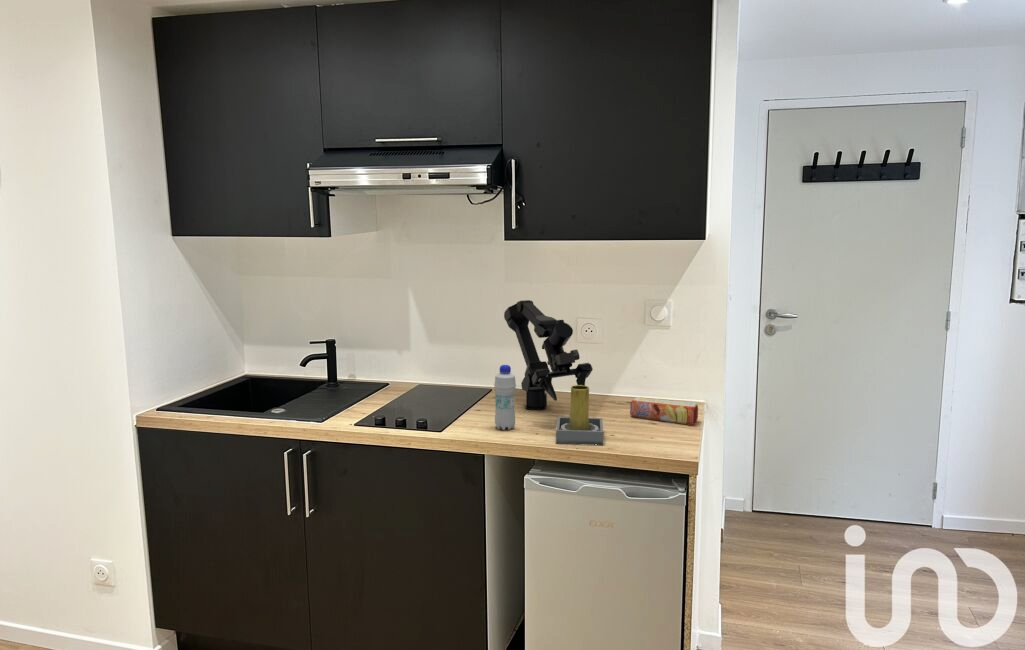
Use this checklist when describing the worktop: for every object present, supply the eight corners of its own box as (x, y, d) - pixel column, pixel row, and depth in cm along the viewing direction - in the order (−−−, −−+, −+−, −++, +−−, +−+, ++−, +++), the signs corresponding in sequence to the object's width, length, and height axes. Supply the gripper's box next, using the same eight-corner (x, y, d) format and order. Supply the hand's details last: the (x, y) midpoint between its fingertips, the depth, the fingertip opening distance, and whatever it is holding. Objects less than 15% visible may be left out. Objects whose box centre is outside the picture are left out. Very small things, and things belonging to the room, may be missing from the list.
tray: (555, 443, 219) (556, 430, 218) (557, 429, 232) (557, 416, 231) (603, 445, 217) (603, 432, 217) (601, 430, 231) (602, 418, 230)
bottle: (513, 431, 229) (514, 367, 226) (492, 430, 230) (492, 366, 227) (517, 425, 236) (517, 362, 232) (496, 424, 237) (496, 362, 234)
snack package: (628, 418, 245) (629, 398, 243) (635, 413, 250) (635, 393, 249) (693, 427, 235) (694, 406, 234) (699, 422, 241) (700, 401, 239)
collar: (560, 439, 220) (560, 432, 219) (561, 427, 230) (561, 421, 230) (598, 440, 219) (598, 433, 218) (597, 428, 229) (597, 422, 229)
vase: (586, 437, 221) (587, 390, 218) (566, 435, 223) (566, 388, 220) (591, 431, 226) (592, 385, 224) (572, 429, 229) (573, 383, 226)
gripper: (534, 344, 229) (548, 390, 222) (590, 338, 235) (605, 382, 228) (525, 362, 238) (539, 406, 231) (579, 355, 244) (594, 398, 237)
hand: (569, 398), depth 231 cm, fingers open, 9 cm apart
